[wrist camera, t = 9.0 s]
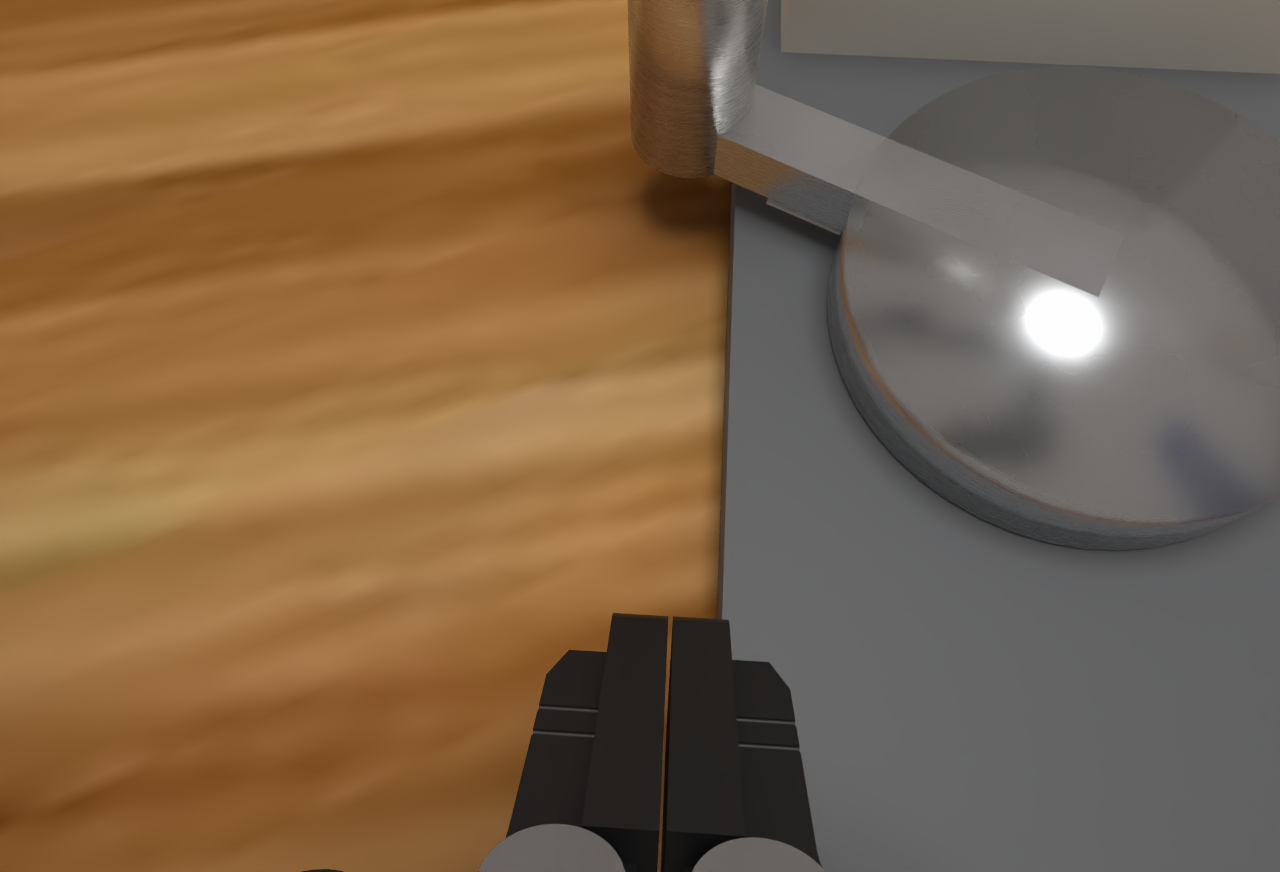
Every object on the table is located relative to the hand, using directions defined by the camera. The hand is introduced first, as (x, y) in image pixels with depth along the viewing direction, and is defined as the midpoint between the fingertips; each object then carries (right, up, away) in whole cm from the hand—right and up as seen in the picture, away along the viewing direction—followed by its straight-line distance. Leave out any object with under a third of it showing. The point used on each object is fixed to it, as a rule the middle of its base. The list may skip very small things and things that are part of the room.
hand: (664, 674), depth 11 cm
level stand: (+9, +5, +9) cm, 13 cm away
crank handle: (+6, +7, +8) cm, 12 cm away
